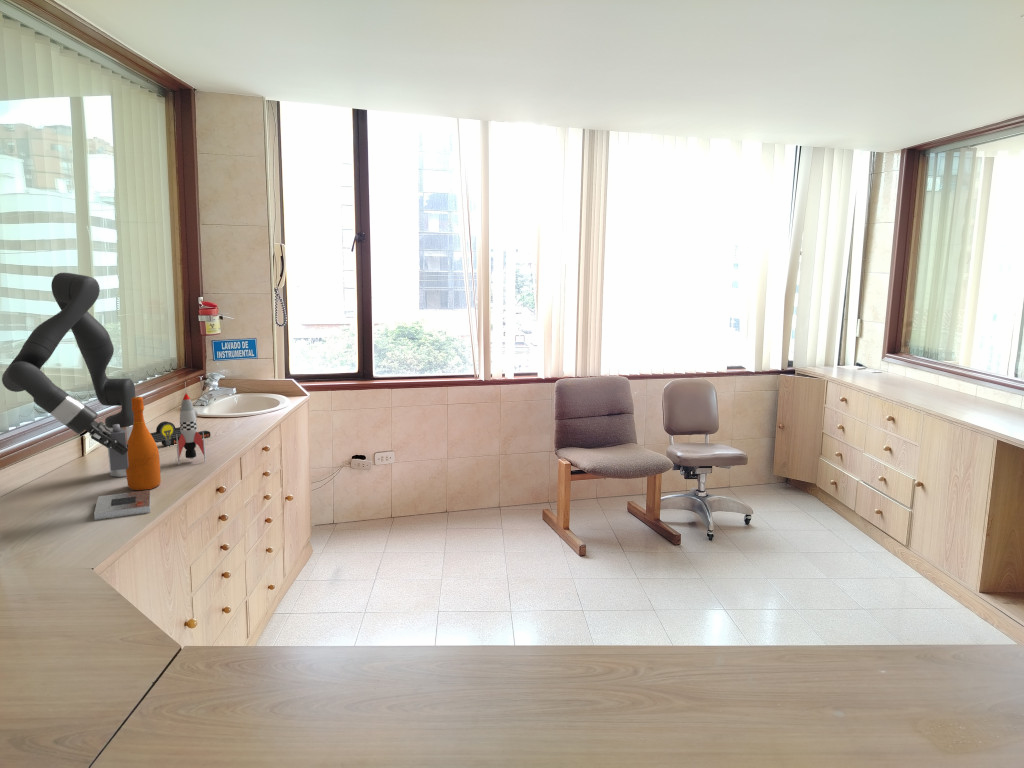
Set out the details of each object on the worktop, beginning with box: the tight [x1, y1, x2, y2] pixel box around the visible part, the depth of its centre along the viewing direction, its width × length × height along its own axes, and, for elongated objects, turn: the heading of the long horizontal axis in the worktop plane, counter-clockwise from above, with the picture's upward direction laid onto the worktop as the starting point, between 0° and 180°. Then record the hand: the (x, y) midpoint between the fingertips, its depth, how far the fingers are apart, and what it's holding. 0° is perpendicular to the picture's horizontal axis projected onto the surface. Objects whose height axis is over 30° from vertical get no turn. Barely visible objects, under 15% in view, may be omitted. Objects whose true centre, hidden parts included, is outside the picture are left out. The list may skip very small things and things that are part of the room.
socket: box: [93, 489, 152, 521], centre depth 205 cm, size 16×14×3 cm
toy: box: [176, 381, 207, 465], centre depth 249 cm, size 9×8×30 cm
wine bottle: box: [126, 396, 162, 491], centre depth 221 cm, size 10×10×30 cm
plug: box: [108, 424, 129, 471], centre depth 202 cm, size 4×4×13 cm
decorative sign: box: [150, 420, 211, 447], centre depth 276 cm, size 27×2×10 cm, turn 147°
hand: (125, 450), depth 203 cm, fingers closed on plug, 4 cm apart
